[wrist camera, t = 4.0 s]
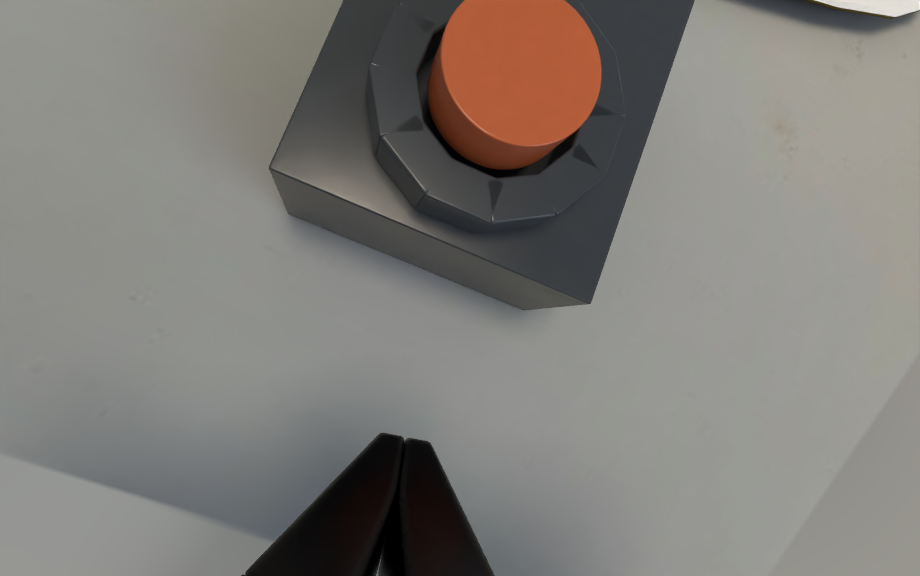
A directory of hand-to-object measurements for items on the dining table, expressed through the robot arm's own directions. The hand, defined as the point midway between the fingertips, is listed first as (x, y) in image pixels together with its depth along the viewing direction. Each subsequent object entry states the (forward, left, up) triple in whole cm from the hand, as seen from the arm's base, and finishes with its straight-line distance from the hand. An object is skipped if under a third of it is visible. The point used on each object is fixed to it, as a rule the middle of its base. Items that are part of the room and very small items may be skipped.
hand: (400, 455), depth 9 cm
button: (+9, 0, -5) cm, 10 cm away
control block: (+11, 0, -13) cm, 17 cm away
